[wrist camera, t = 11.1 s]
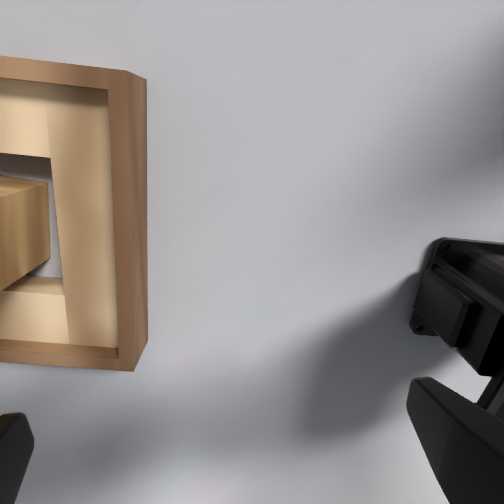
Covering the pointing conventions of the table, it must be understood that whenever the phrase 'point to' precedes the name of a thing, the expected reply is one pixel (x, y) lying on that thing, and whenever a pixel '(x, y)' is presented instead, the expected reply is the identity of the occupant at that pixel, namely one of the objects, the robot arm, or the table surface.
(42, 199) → the peg
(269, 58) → the table surface
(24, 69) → the socket box
